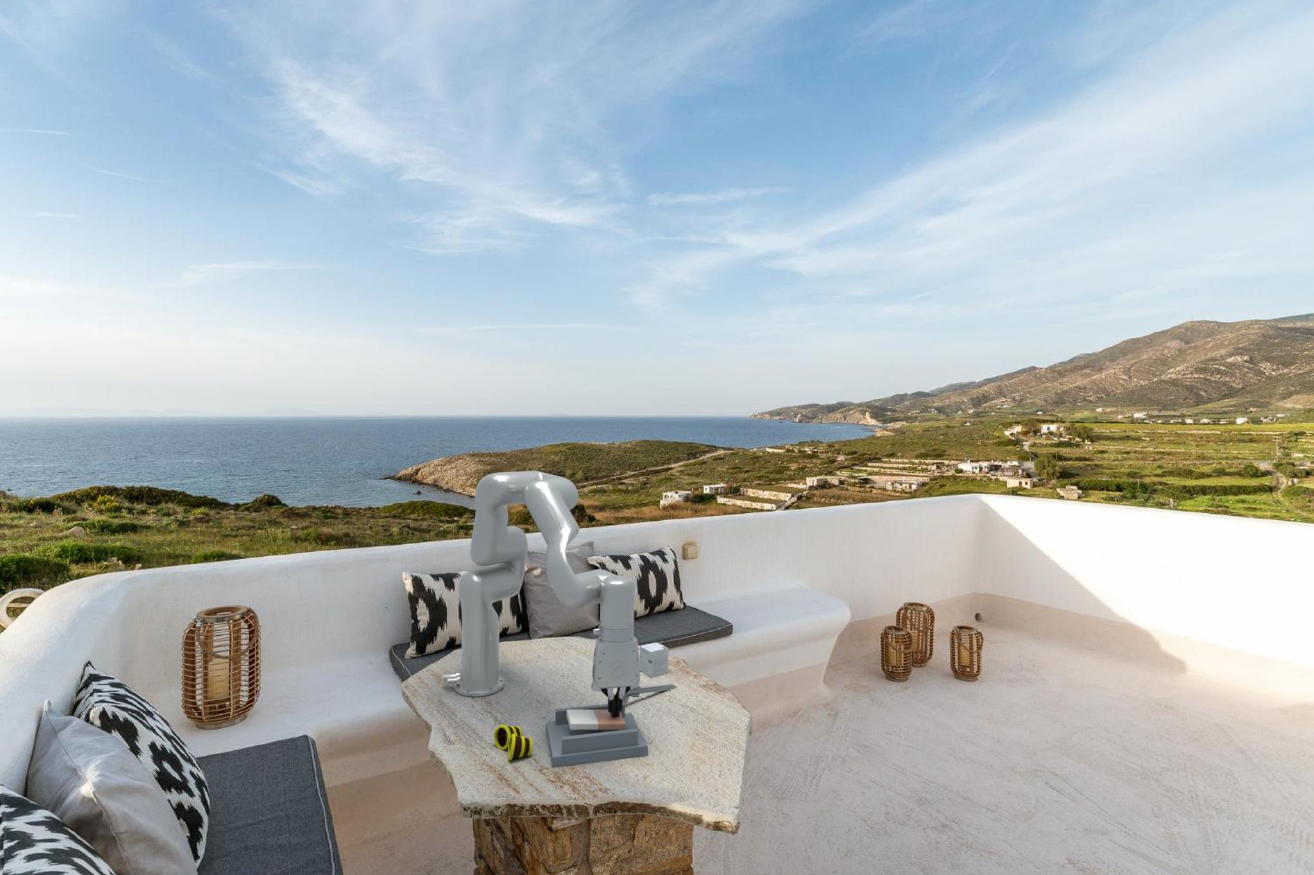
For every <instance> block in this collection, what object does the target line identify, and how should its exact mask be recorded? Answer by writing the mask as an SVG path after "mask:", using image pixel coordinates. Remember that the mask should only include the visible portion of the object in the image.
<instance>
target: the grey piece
mask: <svg viewBox="0 0 1314 875" xmlns="http://www.w3.org/2000/svg"><path fill="white" fill-rule="evenodd" d="M567 710H608V703H605V704H595V705H585V706H584V705H583V706H573V707H565V708H555V710H554V711H555V715H554V716H555V718H554V720H549V721H546V722H545V732H546V738H547V744H548V748H549V749H548V750H549V753H550V754H549V755H550V760H551V764H552V768H559V767H565V766H575V765H581V764H591V763H597V762H606V761H612V760H621V759H629V758H637V757H636V756H639V757H645V755H647V756H648V755H649V745H648V743H647V741H646V738H645V737H644V735H643V734H642V731H641V729H640V727H639V725H638V723H637V721H636V718H634V715H633V714H632V712H626V707H625V704H624V702H622V711H620V713H621V715H622V717H623V719H624V721H625V723H626V725H625V729H596V730H570V727H569V723H568V720H567V716H566V713H567Z"/></svg>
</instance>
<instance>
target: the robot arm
mask: <svg viewBox="0 0 1314 875" xmlns="http://www.w3.org/2000/svg"><path fill="white" fill-rule="evenodd" d="M474 493H475V496H474V497H475V498H474V502H475V513H474V514H475V516H474V521H473V527H472V528H473V529H472V536H471V542H470V548H469V549H470V551H469V555H470V559H471V562H473V564H475V565H477V566H480V567H481V568H476V569H475V568H474V569H472V570H470V571H467V572H466V573H465V574H463V575H462V576H461V578H460V580H459V582H458V588H457V589H458V595H459V601H460V606H461V667H460V669H459V671H456V672H455V673H454V672H453V673H450V672H448V673H444V674H443V682H447V684H448V685H449V684H454V690H455V692H456V693H457V694H459V695H461V696H464V697H482V696H489V695H492V694H495V693H498V692H499V691H501V690H502V689H503V688H504V686H505V679H504V678H503V677H502V676H500V675H499V666H500V665H499V663H500V662H499V661H500V660H499V659H500V658H499V656H500V653H499V652H500V618H499V615H498V613H497V612H496V610H495V608H494V606H493V603H496V602H499V601H502V600H507V599H510V598H513V597H514V596H516V595H517V594H518V593H519V592H520V591H521V588H522V586H523V581H524V576H525V569H526V562H527V557H528V551H529V550H528V549H529V544H528V538H527V536H526V534H525V532H524V531H523V530H522V529H521V528H520V527H518V526H514V525H511V526H510V525H509V526H508V523H509V513H508V509H507V507H506V506H513V505H525V506H526V507H527V509H528V510H527V511H529V513H530V515H531V517H532V519H533V520H534V523H535V525H536V527H537V529H538V530H539V533H541V536H542V538H543V539H544V541H545V543H546V545H547V546H546V552H545V557H544V564H545V565H544V566H545V574H546V577H547V580H548V582H549V585H550V586H551V588H552V590H553V592H554V594H555V596H556V597H557V599H558V601H559V602H560V603H561V605H562V606H564V607H565V608H567V610H572V611H575V610H576V611H578V610H581V609H584V608H588V607H591V606H594V605H597V604H600V606H599V607H600V608H599V609H600V612H599V614H600V616H599V626H598V627H597V628H593V629H592V630H593V632H592V634H593V636H598V637H597V639H596V640H595V642H596V643H595V647H594V652H593V660H592V661H593V662H592V682H591V686H590V687H591V690H592V691H593V692H599V693H602V694H603V695H604V696H605V697H607V704H608V712H609V713H611V716H612V718H615V717H620V711H622V700H623V698H624V696H625V694H626V693H627V692H628V691H629V690H630V689H633V688H636V687H639V686H640V680H641V671H640V648H639V644H638V638H636V636H635V635H634V634H635V633H634V629H635V594H636V592H635V582H634V579H633V578H632V577H629V576H625V575H619V574H618V575H617V574H614V573H613V572H610V571H608V570H606V569H601V568H600V569H592V570H589V571H585V572H584V571H583V572H580V573H577V574H576V573H575V572H574V571H573V569H572V566H571V565H570V563H569V561H568V558H567V546H569V544H570V543H572V541H574V539H575V538H576V537H577V536H578V534H579V533H580V532H579V531H580V527H579V525H578V523H577V521H576V520H575V517H574V516H573V514H572V513H571V510H572V509H574V507H576V505H577V504H578V501H579V492H578V489H577V486H576V485H575V484H574V483H573V481H571V480H570V479H568V478H566V477H563V476H559V475H554V474H551V473H546V472H543V471H537V470H525V471H523V470H521V471H501V472H494V473H493V472H492V473H490V474H487V475H485V476H483V477H482V478H481V479H480V480H479V482H478V483H477V485H476V488H475V492H474ZM615 688H617V689H616V692H615V694H614V689H615Z"/></svg>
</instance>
